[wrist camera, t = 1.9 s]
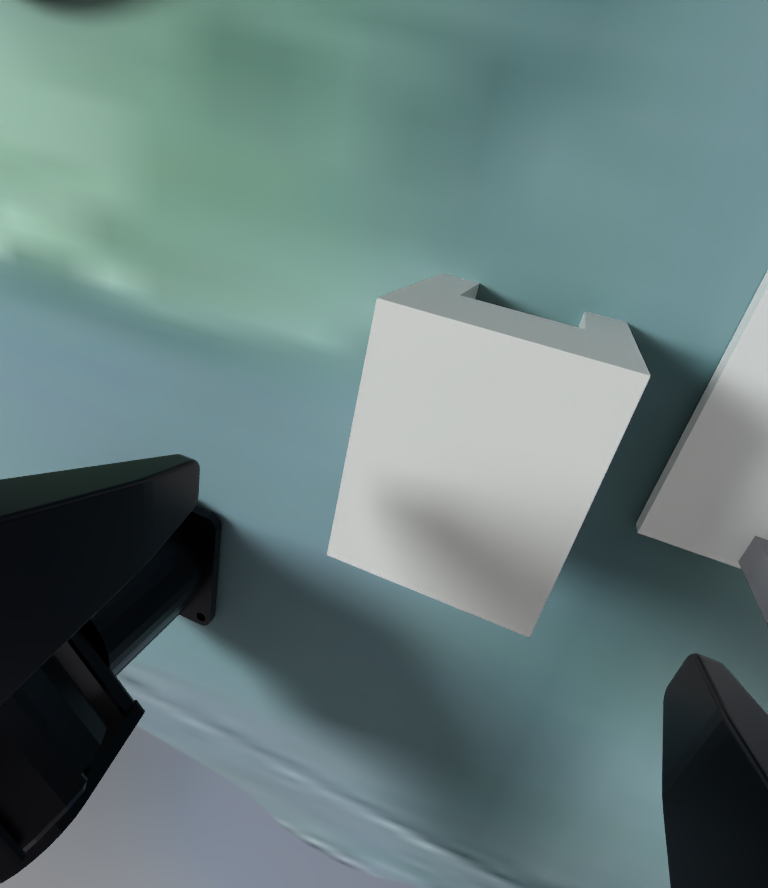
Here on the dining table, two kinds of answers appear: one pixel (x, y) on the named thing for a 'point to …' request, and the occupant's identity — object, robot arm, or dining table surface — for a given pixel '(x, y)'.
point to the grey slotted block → (480, 446)
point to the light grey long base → (723, 463)
